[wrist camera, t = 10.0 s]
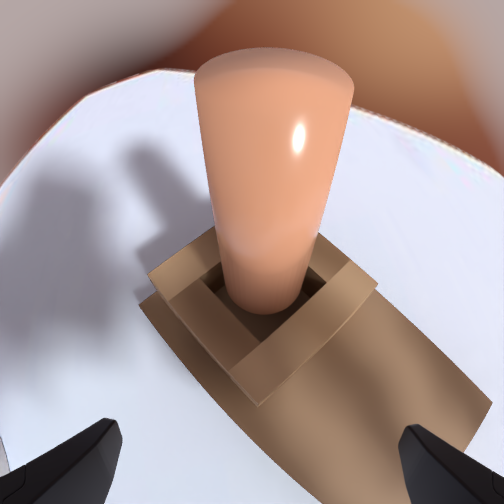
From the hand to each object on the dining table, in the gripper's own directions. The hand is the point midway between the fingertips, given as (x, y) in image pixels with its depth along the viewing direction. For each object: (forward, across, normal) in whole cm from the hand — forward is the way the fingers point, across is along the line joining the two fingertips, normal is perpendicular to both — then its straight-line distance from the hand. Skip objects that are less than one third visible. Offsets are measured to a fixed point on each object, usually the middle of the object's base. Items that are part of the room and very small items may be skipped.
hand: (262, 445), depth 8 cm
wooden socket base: (+9, -4, +4) cm, 11 cm away
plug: (+9, 0, -2) cm, 9 cm away
